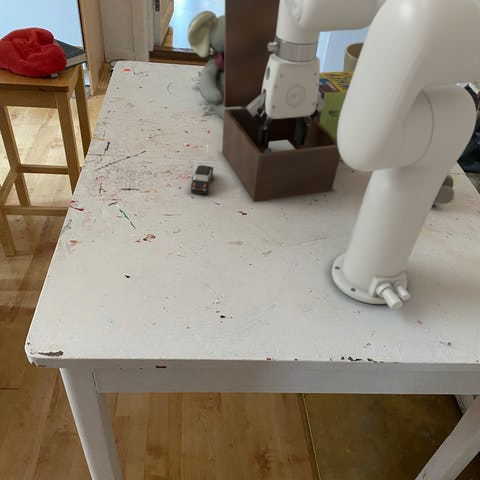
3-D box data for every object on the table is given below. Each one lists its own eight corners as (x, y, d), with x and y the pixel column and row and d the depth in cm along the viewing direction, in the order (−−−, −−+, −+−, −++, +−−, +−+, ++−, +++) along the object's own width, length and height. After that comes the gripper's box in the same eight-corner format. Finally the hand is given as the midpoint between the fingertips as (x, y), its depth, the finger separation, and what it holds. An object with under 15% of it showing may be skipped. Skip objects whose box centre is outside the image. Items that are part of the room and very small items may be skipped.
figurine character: (440, 202, 101) (374, 180, 102) (459, 171, 95) (388, 148, 96) (440, 219, 97) (370, 196, 97) (460, 188, 91) (386, 163, 92)
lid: (313, -13, 89) (301, -16, 93) (226, -13, 84) (216, -16, 88) (301, 101, 102) (290, 94, 106) (225, 107, 97) (216, 100, 101)
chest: (331, 190, 98) (343, 146, 91) (253, 201, 93) (258, 155, 86) (293, 145, 110) (300, 103, 103) (221, 153, 105) (224, 109, 98)
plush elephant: (297, 113, 122) (312, 22, 107) (232, 134, 112) (238, 36, 96) (231, 77, 135) (236, -8, 120) (167, 93, 124) (163, 1, 109)
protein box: (371, 158, 109) (392, 88, 98) (310, 164, 105) (324, 92, 94) (350, 136, 116) (368, 69, 104) (292, 141, 112) (304, 72, 100)
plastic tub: (295, 176, 99) (299, 154, 96) (273, 179, 98) (276, 156, 94) (284, 161, 103) (287, 139, 100) (262, 164, 102) (264, 142, 98)
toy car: (188, 194, 93) (188, 157, 87) (200, 164, 101) (200, 128, 95) (208, 197, 93) (209, 160, 87) (218, 166, 101) (219, 131, 95)
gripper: (257, 58, 78) (248, 157, 91) (348, 54, 83) (327, 148, 96) (242, 43, 83) (235, 139, 96) (329, 39, 88) (311, 131, 101)
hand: (281, 143), depth 96 cm, fingers open, 7 cm apart
